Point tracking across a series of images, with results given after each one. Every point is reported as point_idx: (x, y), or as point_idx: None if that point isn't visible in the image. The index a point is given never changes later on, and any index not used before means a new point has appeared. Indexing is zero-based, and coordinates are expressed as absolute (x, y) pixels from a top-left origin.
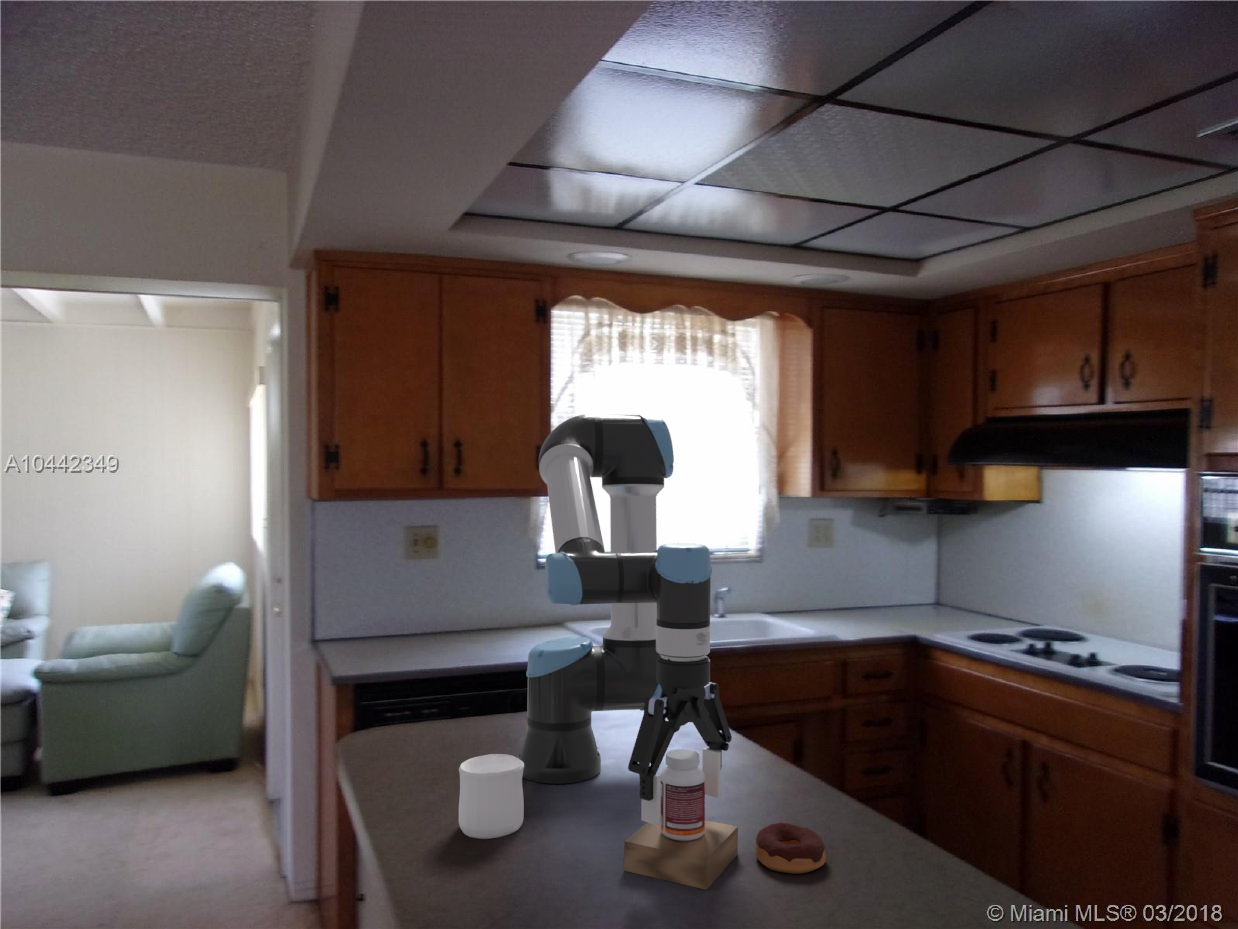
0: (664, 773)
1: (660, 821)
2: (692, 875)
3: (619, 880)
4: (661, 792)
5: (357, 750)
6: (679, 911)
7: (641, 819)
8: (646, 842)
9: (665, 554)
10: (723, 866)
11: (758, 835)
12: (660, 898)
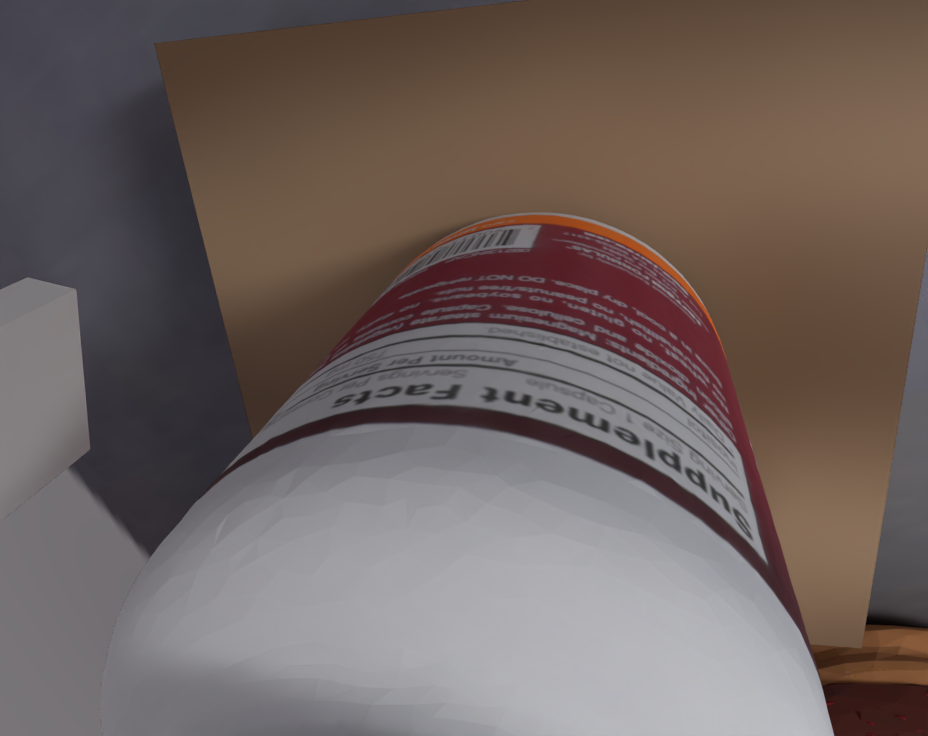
0: (134, 641)
1: (76, 460)
2: None
3: (157, 82)
4: (279, 410)
5: None
6: (132, 469)
7: (20, 281)
8: (246, 213)
9: None
10: None
11: (870, 713)
12: (159, 361)
